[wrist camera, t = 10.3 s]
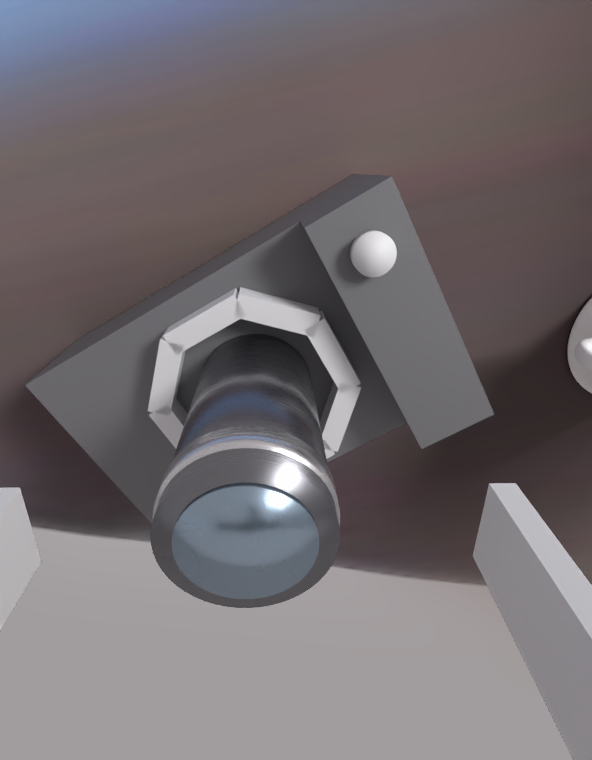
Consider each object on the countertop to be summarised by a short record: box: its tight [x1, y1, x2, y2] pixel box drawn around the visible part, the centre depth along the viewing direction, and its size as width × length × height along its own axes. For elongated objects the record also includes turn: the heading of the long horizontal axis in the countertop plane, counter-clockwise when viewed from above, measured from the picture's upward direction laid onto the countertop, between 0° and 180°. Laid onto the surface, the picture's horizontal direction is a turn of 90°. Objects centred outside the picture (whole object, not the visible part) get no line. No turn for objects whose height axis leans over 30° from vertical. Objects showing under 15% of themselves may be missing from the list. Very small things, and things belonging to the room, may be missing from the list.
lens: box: [150, 334, 340, 608], centre depth 17 cm, size 5×5×10 cm
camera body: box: [25, 174, 494, 524], centre depth 23 cm, size 18×11×9 cm, turn 119°
